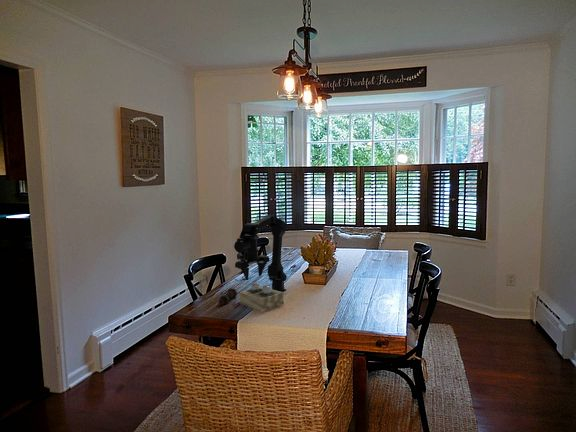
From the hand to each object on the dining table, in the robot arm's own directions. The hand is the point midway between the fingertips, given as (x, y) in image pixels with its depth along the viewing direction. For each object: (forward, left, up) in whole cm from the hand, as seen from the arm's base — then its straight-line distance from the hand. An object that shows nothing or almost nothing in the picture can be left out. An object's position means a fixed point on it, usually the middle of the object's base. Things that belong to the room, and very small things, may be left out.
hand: (253, 278), depth 215 cm
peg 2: (0, +10, -9) cm, 13 cm away
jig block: (0, +5, -13) cm, 14 cm away
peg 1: (0, +1, -9) cm, 9 cm away
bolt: (+8, -13, -13) cm, 20 cm away
